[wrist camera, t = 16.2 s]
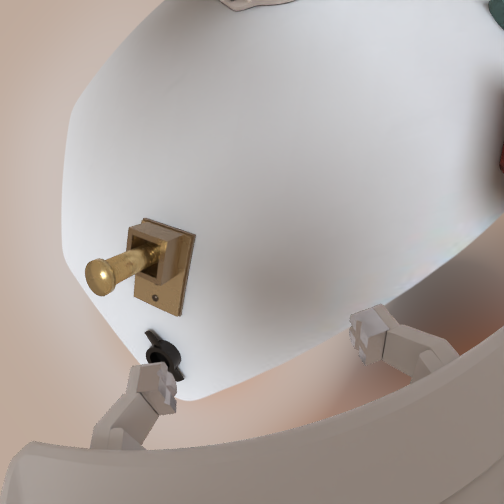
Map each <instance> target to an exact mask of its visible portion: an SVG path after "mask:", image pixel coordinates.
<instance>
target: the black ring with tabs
mask: <svg viewBox="0 0 504 504" xmlns="http://www.w3.org/2000/svg"><path fill="white" fill-rule="evenodd" d="M145 334H146V336H147V337H148V339H149V340H150V342H151V343H152V346H151V347H150V348H149V349H148V350H147V352H146V359H147V361H148V363H149V364H150V363H157V362H165V364H166V365H167V367H168V370H167V371H168V372H170V373H172V375H173V376H174V379H175V381H176V382H179V381H182V380H184V378H183V376H182V375H181V374H180V373H179V371H178V370H177V368H176V367H177V366H178V365H179V364H180V362H181V356H180V353H179V351H178V350H177V348H176V347H175V346H174V345H173V344H171V343H170V342H168V341H165V340H159V341H158V340H157V339H156V337H155V336H154V335H153V334H152V333H151V332H150V331H146V332H145Z"/></svg>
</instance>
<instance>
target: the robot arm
mask: <svg viewBox="0 0 504 504" xmlns="http://www.w3.org/2000/svg"><path fill="white" fill-rule="evenodd" d="M220 1H221V2H223V3H224V4H225V5H227V6H228V7H230V8H231V9H232V10H235V11H240V10H244V9H247V8H250V7H253V6H256V5H273V4H281V3H286V2H290V1H294V0H235V1H233V0H220ZM350 323H351V325H352V326H351V327H350V329H349V333H350V334H349V335H350V339H351V342H352V345H353V346H354V348H355V349H357V350H359V357H360V358H361V360H362V362H363V363H364V365H365V366H366V365H369V364H372V363H374V362H377V361H379V360H382V361H384V362H386V363H388V364H389V365H391V366H393V367H394V368H396V369H398V370H400V371H402V372H403V373H405V374H407V375H409V376H411V377H412V380H411V382H410V385H408V386H406V387H404V388H401V389H399V390H397V391H395V392H393V393H391V394H389V395H386V396H384V397H382V398H379V399H377V400H375V401H373V402H370V403H367V404H365V405H363V406H360V407H358V408H355V409H352V410H350V411H347V412H344V413H341V414H338V415H336V416H333V417H330V418H327V419H324V420H321V421H317V422H314V423H311V424H307V425H304V426H301V427H297V428H293V429H290V430H286V431H282V432H278V433H274V434H269V435H265V436H260V437H256V438H251V439H246V440H241V441H235V442H229V443H223V444H215V445H208V446H200V447H191V448H179V449H164V450H146V449H145V448H144V447H143V446H141V445H142V444H143V441H144V440H145V438H146V437H147V435H148V434H149V432H150V430H151V429H152V427H153V425H154V424H155V422H156V420H157V419H158V417H159V416H158V415H166V414H173V413H176V400H175V398H174V396H175V395H176V393H177V386H176V381H175V379H174V376H173V375H172V373H170V372H168V371H167V370H168V367H167V365H166V364H165V362H157V363H150V364H142V365H136V366H132V367H131V370H130V374H129V380H128V385H127V390H126V394H123V395H122V396H121V397H120V398H119V399H118V400H117V402H116V403H115V404H114V405H113V406H112V407H111V408H110V409H109V411H108V412H107V413H106V414H105V415H104V416H103V417H102V419H101V420H100V421H99V422H98V423H97V424H96V425H95V426H94V430H93V435H92V440H91V445H90V449H87V448H77V447H68V446H60V445H53V444H47V443H42V442H36V441H35V442H34V441H33V442H30V443H28V444H27V445H26V446H25V447H24V448H22V450H20V451H19V452H18V453H17V454H16V455H15V456H14V457H13V459H12V460H11V462H10V464H9V467H8V469H7V473H6V476H5V480H4V483H3V487H2V492H1V496H0V504H504V326H503V327H502V328H500V329H499V330H498V331H496V332H495V333H494V334H493V335H491V336H490V337H488V338H487V339H486V340H484V341H483V342H481V343H480V344H478V345H477V346H475V347H474V348H472V349H471V350H469V351H468V352H466V353H465V354H463V355H462V356H459V355H458V353H457V352H456V351H455V350H454V349H453V347H452V346H451V345H450V344H449V343H448V342H447V341H446V340H445V339H443V338H440V337H437V336H434V335H431V334H428V333H426V332H423V331H420V330H417V329H414V328H412V327H409V326H406V325H399V323H398V322H397V321H396V320H395V319H394V317H393V316H392V315H391V314H390V313H389V311H388V310H387V309H386V308H385V307H384V305H382V304H379V305H376V306H374V307H371V308H368V309H365V310H363V311H360V312H357V313H354V314H351V315H350Z"/></svg>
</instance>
